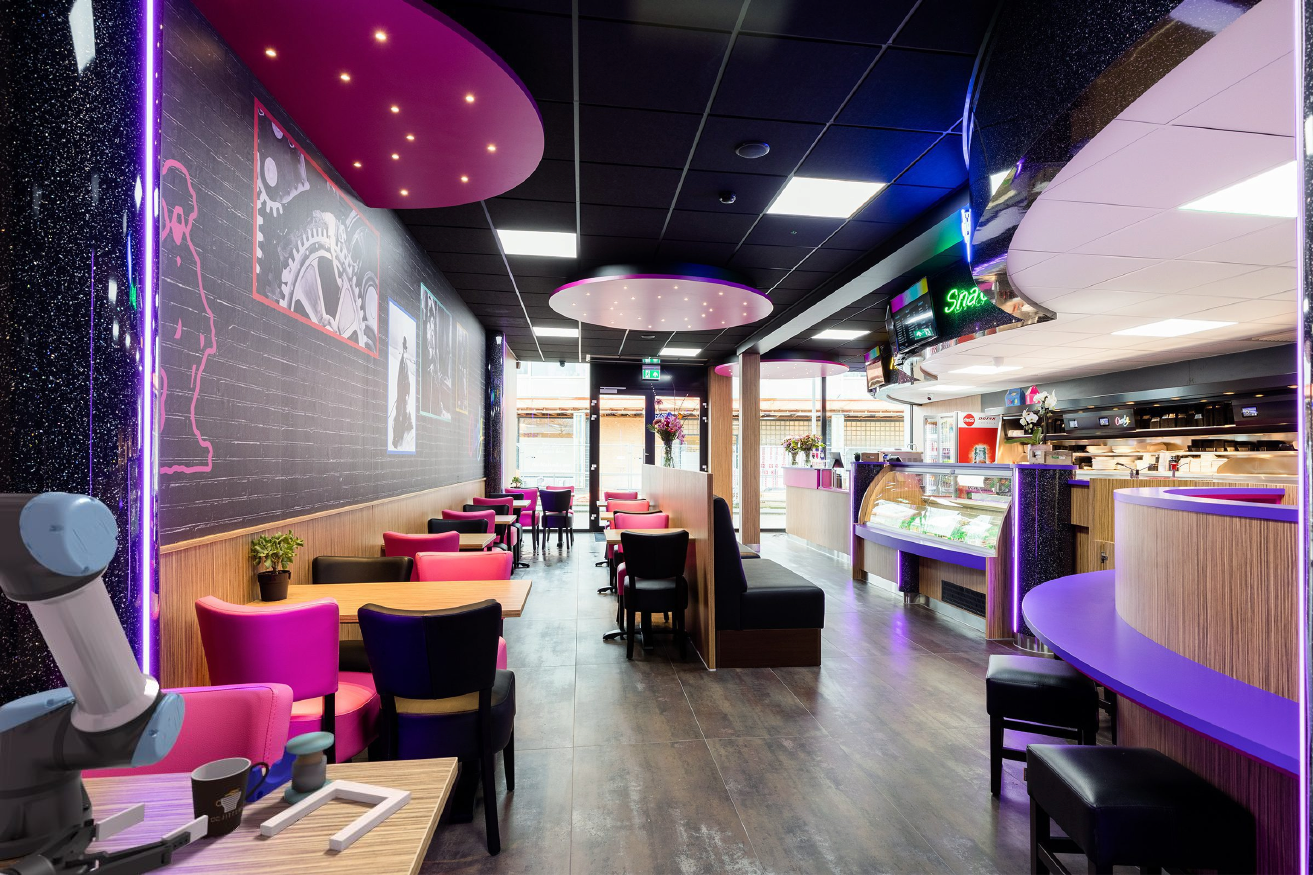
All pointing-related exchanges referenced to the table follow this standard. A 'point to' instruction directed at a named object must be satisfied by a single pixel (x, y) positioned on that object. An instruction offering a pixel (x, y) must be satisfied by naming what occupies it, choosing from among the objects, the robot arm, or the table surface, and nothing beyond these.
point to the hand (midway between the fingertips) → (173, 817)
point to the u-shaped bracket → (381, 796)
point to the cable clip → (270, 777)
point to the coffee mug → (222, 793)
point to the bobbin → (308, 765)
